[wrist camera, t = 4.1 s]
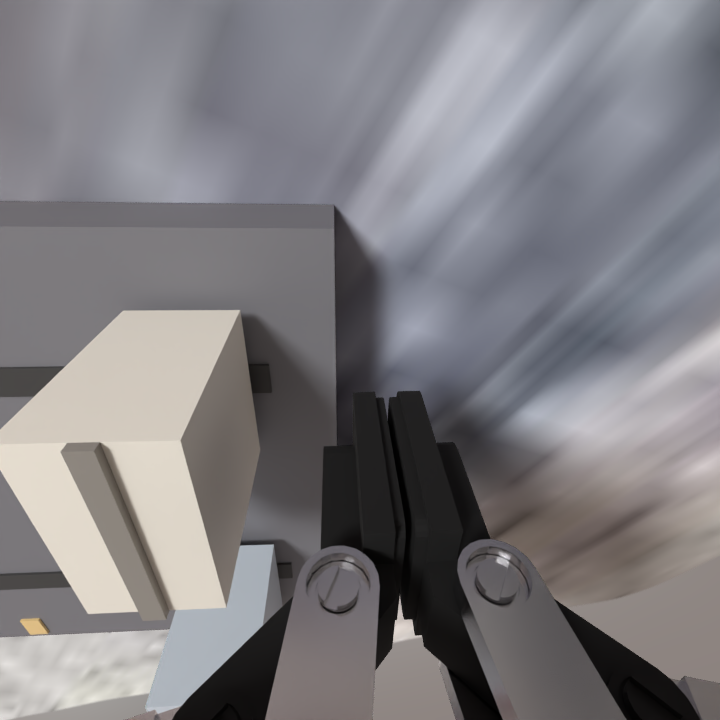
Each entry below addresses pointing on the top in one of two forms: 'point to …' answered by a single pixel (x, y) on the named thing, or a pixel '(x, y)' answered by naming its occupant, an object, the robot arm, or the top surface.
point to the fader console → (172, 292)
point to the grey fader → (216, 629)
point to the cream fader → (142, 462)
